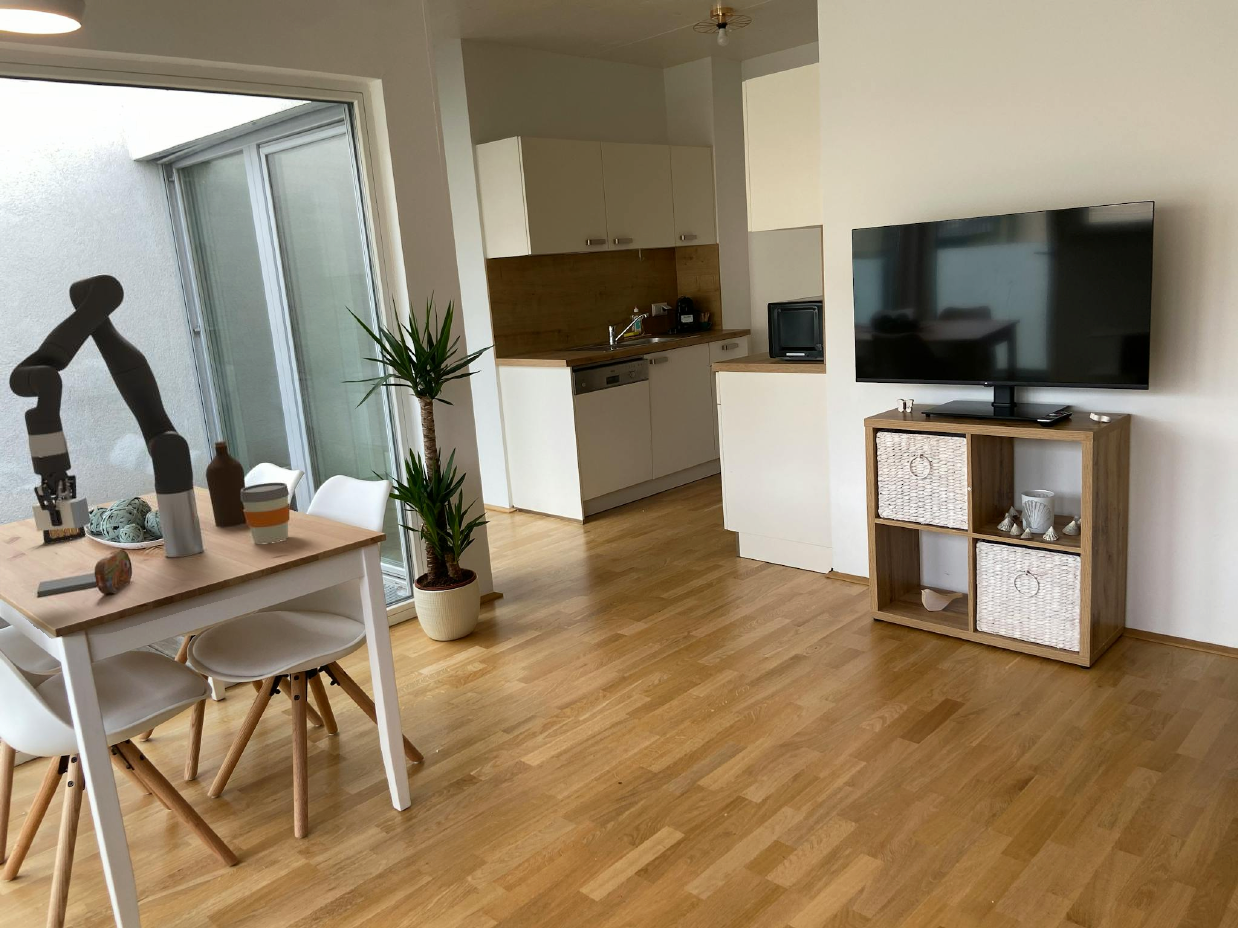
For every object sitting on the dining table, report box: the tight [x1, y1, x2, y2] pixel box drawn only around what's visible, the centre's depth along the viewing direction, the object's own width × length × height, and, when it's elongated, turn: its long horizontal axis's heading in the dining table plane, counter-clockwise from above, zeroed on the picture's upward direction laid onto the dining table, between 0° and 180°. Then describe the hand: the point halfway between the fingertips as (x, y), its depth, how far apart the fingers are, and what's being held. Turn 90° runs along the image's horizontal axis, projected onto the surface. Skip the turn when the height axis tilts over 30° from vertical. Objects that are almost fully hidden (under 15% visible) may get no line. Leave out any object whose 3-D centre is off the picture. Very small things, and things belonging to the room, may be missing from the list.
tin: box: [94, 549, 133, 595], centre depth 225 cm, size 15×3×8 cm, turn 7°
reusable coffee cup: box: [241, 482, 290, 544], centre depth 261 cm, size 13×13×15 cm
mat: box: [36, 572, 98, 598], centre depth 229 cm, size 13×9×1 cm
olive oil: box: [205, 440, 247, 527], centre depth 284 cm, size 11×11×25 cm
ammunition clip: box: [42, 526, 87, 544], centre depth 277 cm, size 11×2×12 cm, turn 128°
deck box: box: [31, 497, 92, 532], centre depth 221 cm, size 5×10×6 cm, turn 92°
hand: (63, 522), depth 222 cm, fingers closed on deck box, 4 cm apart
